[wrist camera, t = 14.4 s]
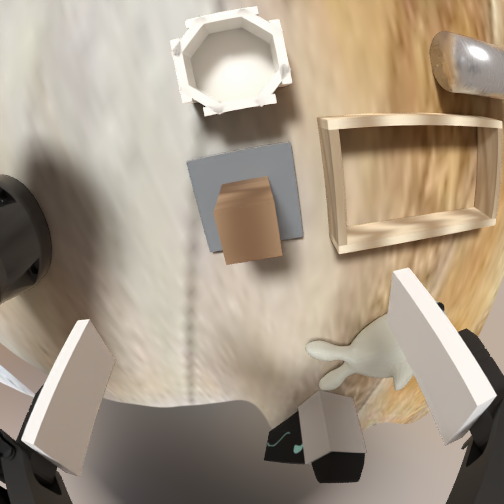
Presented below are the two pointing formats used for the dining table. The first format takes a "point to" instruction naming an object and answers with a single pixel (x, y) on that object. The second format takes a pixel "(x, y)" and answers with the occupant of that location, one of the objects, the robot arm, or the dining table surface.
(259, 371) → the dining table surface
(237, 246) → the walnut block
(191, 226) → the dining table surface
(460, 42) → the lying tin can
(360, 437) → the decorative object
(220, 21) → the ramekin
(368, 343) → the toy
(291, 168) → the slate coaster
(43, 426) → the robot arm
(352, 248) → the birch crate
